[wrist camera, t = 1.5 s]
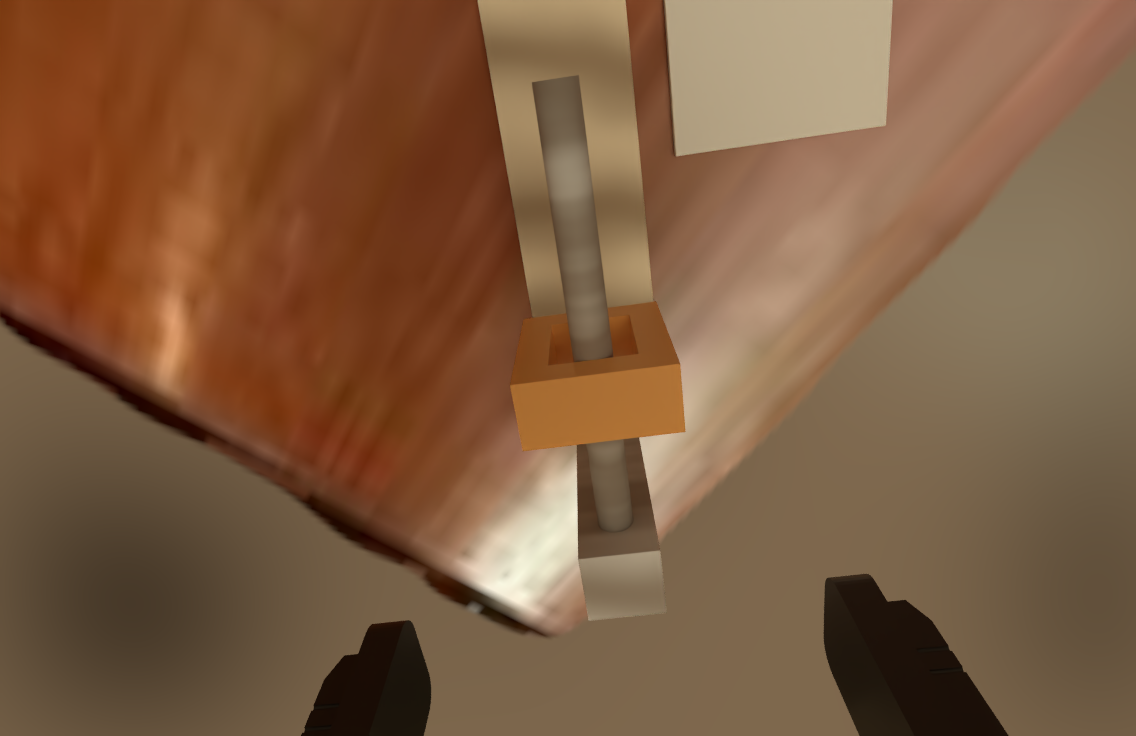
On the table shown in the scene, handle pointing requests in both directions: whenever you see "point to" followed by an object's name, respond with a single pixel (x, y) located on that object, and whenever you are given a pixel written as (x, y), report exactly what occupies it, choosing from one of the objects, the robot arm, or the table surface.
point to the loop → (597, 382)
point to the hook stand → (582, 245)
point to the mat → (774, 69)
